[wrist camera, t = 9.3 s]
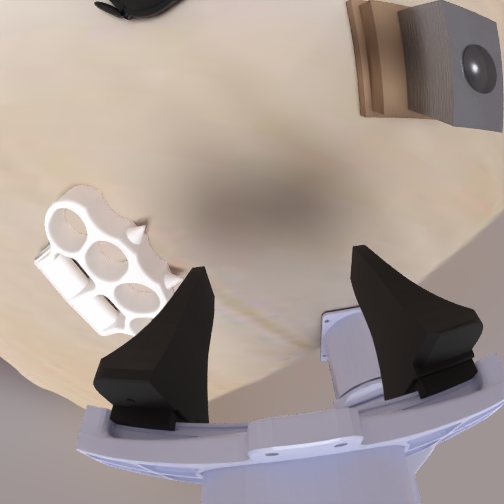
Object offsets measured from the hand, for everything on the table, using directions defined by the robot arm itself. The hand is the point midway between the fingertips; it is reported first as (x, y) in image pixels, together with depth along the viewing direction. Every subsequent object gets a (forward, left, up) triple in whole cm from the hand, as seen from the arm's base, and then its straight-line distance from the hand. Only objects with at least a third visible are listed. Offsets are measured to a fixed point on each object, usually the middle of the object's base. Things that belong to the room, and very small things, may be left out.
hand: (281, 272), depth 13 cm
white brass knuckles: (-5, +16, -10) cm, 20 cm away
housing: (+10, -12, -6) cm, 17 cm away
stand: (+10, -12, -9) cm, 18 cm away
